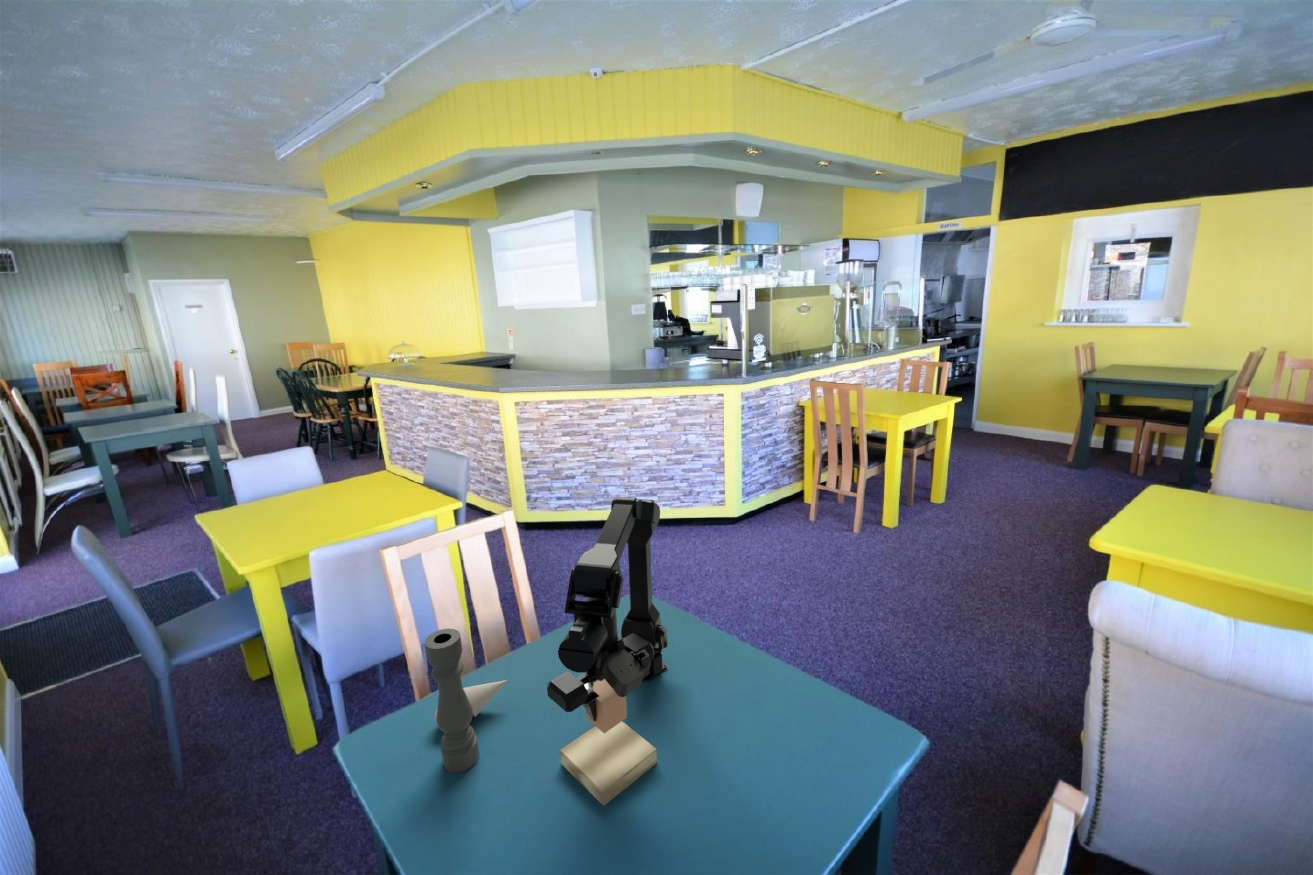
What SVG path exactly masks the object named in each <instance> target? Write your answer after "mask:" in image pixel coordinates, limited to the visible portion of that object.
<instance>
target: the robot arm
mask: <svg viewBox="0 0 1313 875" xmlns="http://www.w3.org/2000/svg"><path fill="white" fill-rule="evenodd" d="M610 504H611V506H610V512H609V514H608V515H607V516H608V517H607V518H606V521H605V523H604V525H603V527H602V529H601V532H600V534H599V536H598V538H597V540H596V542H595V544H594V546H593V547H592V548H590V549H588V550H586V551H585V552H583V553H582V555H581V556H580V557H579V559H578V561H577V562H576V564H575V565H574V567H573V568H572V569H571V572H570V576H569V581H568V588H567V594H566V600H565V607H564V614H569V615H573V623H572V626H570V628H569V630H568V632H567V634H566V635H565V637H564V638H563V639H562V641H561V643H560V644H559V646H558V650H557V656H558V659H559V661H560V662H561V664H562V665H563V666H564V667H565V668H566V669H568V670H567V671H565V672H563V673H561V674H560V675H558V676H557V677H555V678H553V679H551V680H550V681H548V683H547V686H546V691H547V698H549V699H550V700H552V701H553V702H554V703H555V704H556V705H557V706H558V707H560V708H561V709H562V710H563V711H564V712H565V713H572V712H573V711H575V710H577V709H578V708H580V707H581V706H582V707H583V708H584V710H585V713H586V712H587V713H588V715H589V717H590V718H591V719H592V720H593V721H594V722H595V721H596V718H597V712H596V701H595V699H596V698H598V697H599V695H598V694H597V693H596V692H594V691H593V687H594V685H593V684H594V683H596V682H598V681H602V680H604V679H605V680H606V681H607V682H608V684H609V685H610V686H611V687H612V688H613V690H614V691H615V693H616V694H617V695H618V696H619V697H625V696H626V697H628V695H629V694H631V693H632V692H633V691H634V690H636V689H638V688H640V687H641V685H642V682H643V681H644V682H647V681H649V680H651V679H652V678H654V677H655V676H657V675H659V674H660V673H661V672H664V670H666V669H667V667H668V665H667V664H666V663H664V662H663V654H662V652H663V651H664V649H666V648H668V646H669V645H668V629H667V628H666V627H665V626H664V625H663V624H662V620H661V613H660V612H659V610H658V609H657V607H656V606H655V605H654V603H653V590H652V588H653V583H652V556H651V555H652V554H651V551H652V550H651V538H652V536H653V535H654V534H655V532H656V530H657V527H658V524H659V522H660V519H661V518H660V517H661V507H660V505H658V504H657V502H655V499H646V498H645V499H639V498H637V497H627V496H626V497H625V496H617V497H614V498H613V499H612V501H611V503H610ZM626 545H627V554H628V555H627V558H628V560H627V561H628V582H629V584H628V587H629V604H630V607H629V608H630V609H628V612H627V614H626V615H625V617H624V619H623V621H622V624H621V628H620V635H619V633H618V632H619V631H618V619H617V609H619V608H620V603H621V597H622V592H623V587H624V578H623V575H622V569H621V565H620V564H621V563H620V561H621V558H622V555H623V553H624V550H625V548H626ZM577 597H579V598H581V597H583V598H586V599H585V600H576V598H577ZM569 670H570V671H572V672H573V673H574V672H575V673H580V675H578V676H575V675H573V673H571V672H569Z"/></svg>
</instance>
